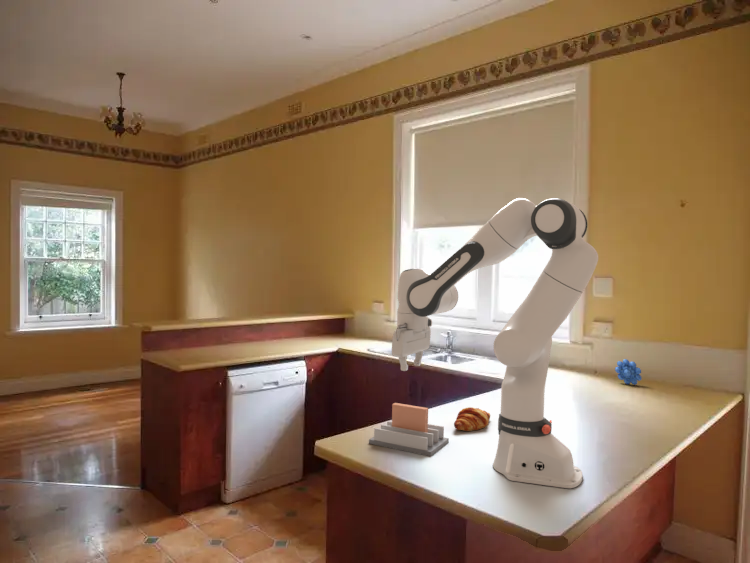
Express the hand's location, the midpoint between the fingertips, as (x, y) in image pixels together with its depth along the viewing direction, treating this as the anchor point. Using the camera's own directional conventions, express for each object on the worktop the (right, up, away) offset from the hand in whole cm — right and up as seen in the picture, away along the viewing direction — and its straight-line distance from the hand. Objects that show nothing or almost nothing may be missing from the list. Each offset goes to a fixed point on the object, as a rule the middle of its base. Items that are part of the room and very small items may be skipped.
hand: (411, 368), depth 158 cm
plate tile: (0, -22, +1) cm, 22 cm away
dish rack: (-1, -23, +1) cm, 23 cm away
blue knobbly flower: (+109, -23, +90) cm, 143 cm away
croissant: (+22, -23, +19) cm, 38 cm away
